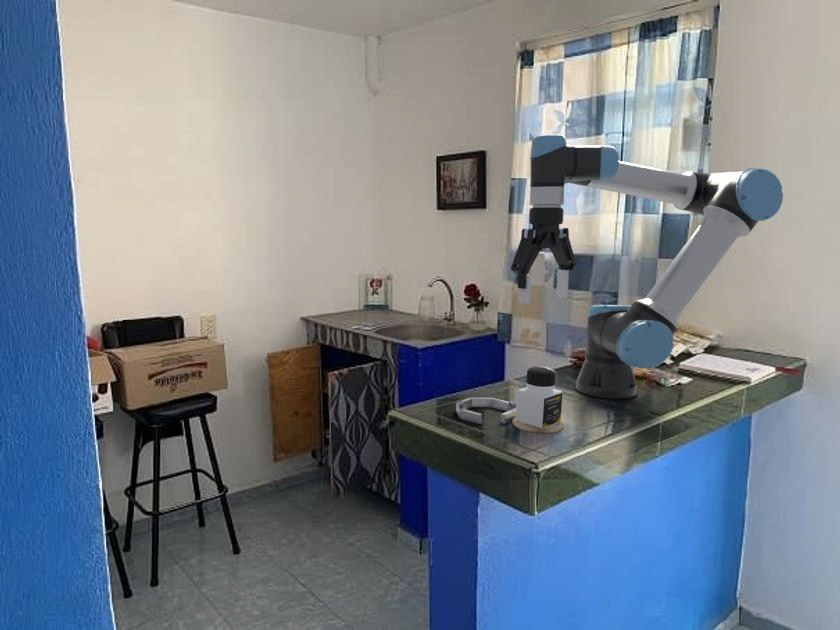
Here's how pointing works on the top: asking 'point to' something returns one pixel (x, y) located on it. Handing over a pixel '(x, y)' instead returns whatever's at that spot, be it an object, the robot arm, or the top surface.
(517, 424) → the disc
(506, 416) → the collar
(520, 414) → the medicine bottle
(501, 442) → the top surface
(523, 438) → the top surface
